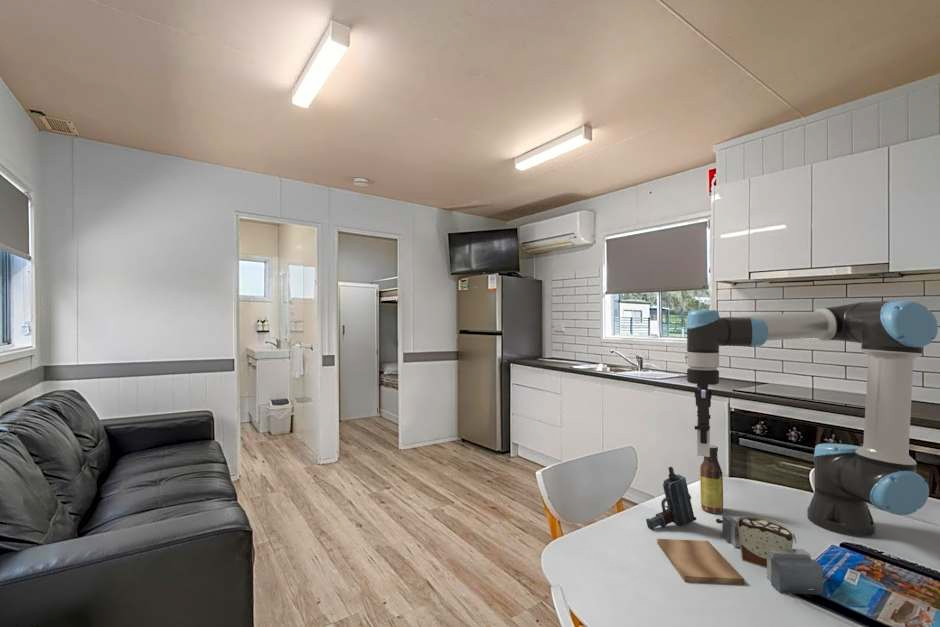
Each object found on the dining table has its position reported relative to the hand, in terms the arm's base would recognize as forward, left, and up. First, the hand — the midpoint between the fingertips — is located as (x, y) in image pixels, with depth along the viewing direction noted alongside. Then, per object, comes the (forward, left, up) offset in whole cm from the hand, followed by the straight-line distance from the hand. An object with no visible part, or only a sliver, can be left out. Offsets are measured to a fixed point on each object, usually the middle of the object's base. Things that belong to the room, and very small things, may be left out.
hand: (703, 449), depth 116 cm
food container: (-12, +8, -25) cm, 29 cm away
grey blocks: (-12, +6, -25) cm, 28 cm away
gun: (+4, -10, -26) cm, 28 cm away
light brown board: (+5, +9, -25) cm, 27 cm away
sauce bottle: (-13, -22, -25) cm, 36 cm away
